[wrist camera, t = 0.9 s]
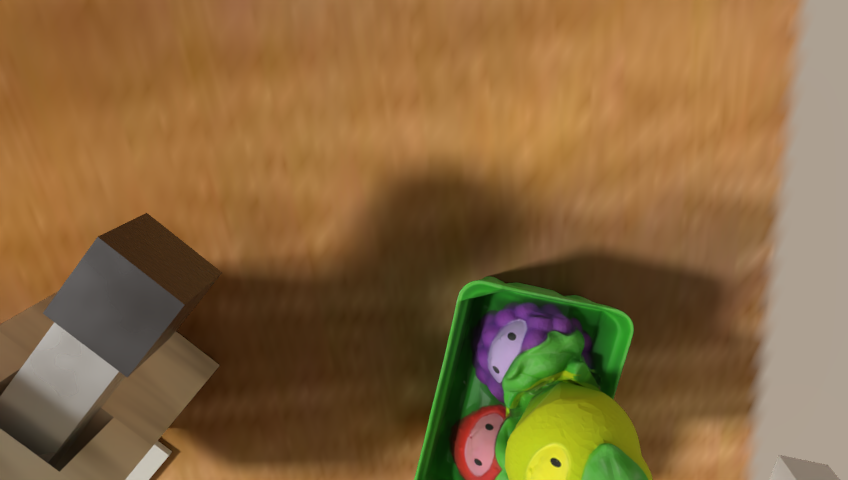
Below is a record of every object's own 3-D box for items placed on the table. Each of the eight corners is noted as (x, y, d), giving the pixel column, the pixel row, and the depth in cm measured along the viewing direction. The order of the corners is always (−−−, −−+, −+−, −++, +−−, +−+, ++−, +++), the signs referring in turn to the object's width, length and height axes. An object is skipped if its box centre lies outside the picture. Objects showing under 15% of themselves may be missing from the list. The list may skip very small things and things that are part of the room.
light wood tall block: (167, 428, 39) (1, 628, 26) (46, 337, 38) (-191, 494, 25) (219, 365, 38) (74, 540, 24) (96, 269, 37) (-126, 396, 24)
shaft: (0, 552, 32) (-59, 613, 28) (-68, 503, 32) (-136, 559, 28) (222, 272, 28) (184, 304, 24) (146, 212, 27) (97, 236, 24)
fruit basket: (464, 244, 35) (456, 332, 24) (642, 283, 35) (714, 390, 24) (417, 446, 38) (392, 604, 27) (581, 483, 38) (621, 657, 27)
